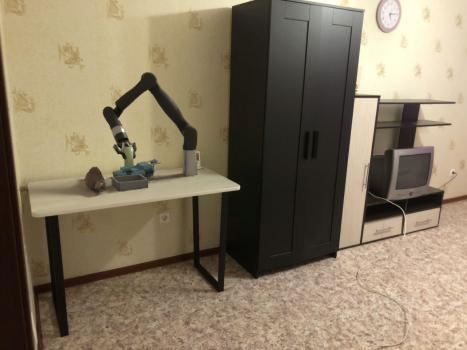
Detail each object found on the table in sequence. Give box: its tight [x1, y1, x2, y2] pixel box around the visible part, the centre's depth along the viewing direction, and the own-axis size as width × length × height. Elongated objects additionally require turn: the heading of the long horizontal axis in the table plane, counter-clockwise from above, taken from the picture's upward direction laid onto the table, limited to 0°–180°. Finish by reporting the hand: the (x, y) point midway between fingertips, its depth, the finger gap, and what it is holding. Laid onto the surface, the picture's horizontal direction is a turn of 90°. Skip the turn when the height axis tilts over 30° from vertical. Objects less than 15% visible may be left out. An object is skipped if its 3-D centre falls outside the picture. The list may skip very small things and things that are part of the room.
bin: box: [111, 174, 149, 192], centre depth 222 cm, size 17×14×5 cm
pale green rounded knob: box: [123, 146, 135, 167], centre depth 218 cm, size 5×5×11 cm
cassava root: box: [84, 166, 107, 191], centre depth 220 cm, size 41×11×10 cm
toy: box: [112, 158, 162, 179], centre depth 245 cm, size 22×9×30 cm
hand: (130, 158), depth 217 cm, fingers closed on pale green rounded knob, 5 cm apart
